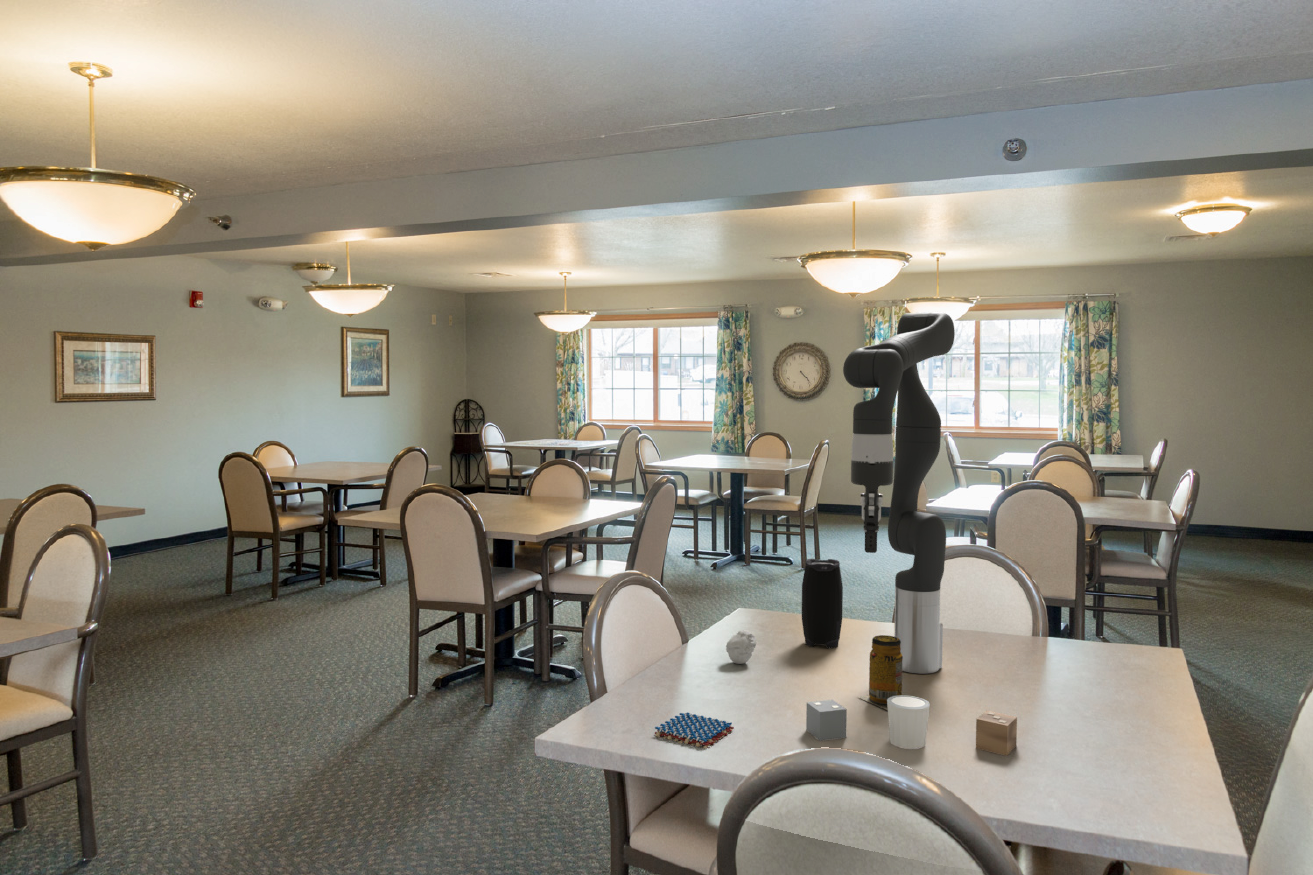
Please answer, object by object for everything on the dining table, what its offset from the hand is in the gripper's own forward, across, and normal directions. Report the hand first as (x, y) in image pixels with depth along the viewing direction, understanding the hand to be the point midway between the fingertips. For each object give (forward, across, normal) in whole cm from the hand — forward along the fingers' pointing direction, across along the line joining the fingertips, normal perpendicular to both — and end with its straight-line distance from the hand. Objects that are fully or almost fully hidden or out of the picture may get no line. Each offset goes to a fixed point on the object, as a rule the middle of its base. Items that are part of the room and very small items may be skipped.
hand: (870, 551), depth 166 cm
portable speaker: (+29, -40, -11) cm, 51 cm away
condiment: (+29, -4, +4) cm, 30 cm away
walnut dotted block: (+29, +15, +20) cm, 39 cm away
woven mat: (+30, +20, -29) cm, 46 cm away
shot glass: (+29, +16, +6) cm, 34 cm away
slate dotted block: (+29, +16, -7) cm, 34 cm away
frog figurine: (+29, -21, -27) cm, 45 cm away
